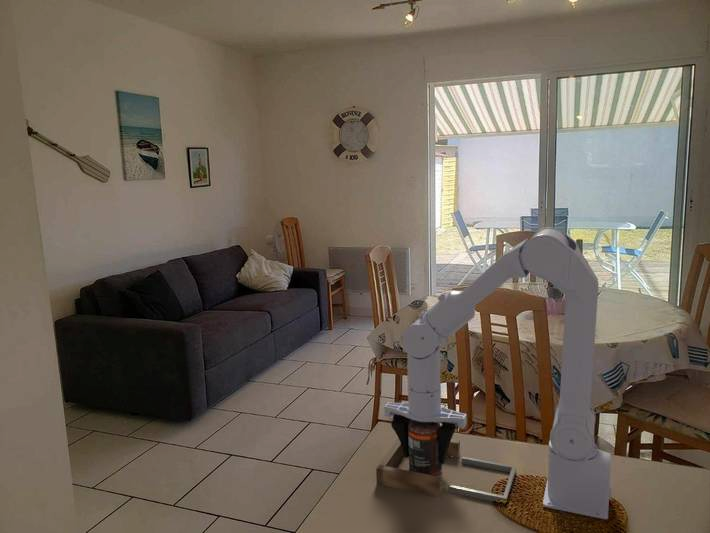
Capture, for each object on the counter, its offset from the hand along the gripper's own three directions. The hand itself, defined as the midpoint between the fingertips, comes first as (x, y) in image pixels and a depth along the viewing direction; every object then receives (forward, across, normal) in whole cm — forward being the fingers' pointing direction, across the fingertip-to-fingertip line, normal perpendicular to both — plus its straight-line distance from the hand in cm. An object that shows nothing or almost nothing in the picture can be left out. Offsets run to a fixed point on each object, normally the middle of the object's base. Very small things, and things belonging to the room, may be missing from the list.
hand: (425, 457), depth 100 cm
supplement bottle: (+3, 0, 0) cm, 3 cm away
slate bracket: (+2, -10, 0) cm, 10 cm away
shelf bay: (+2, 0, 0) cm, 2 cm away
